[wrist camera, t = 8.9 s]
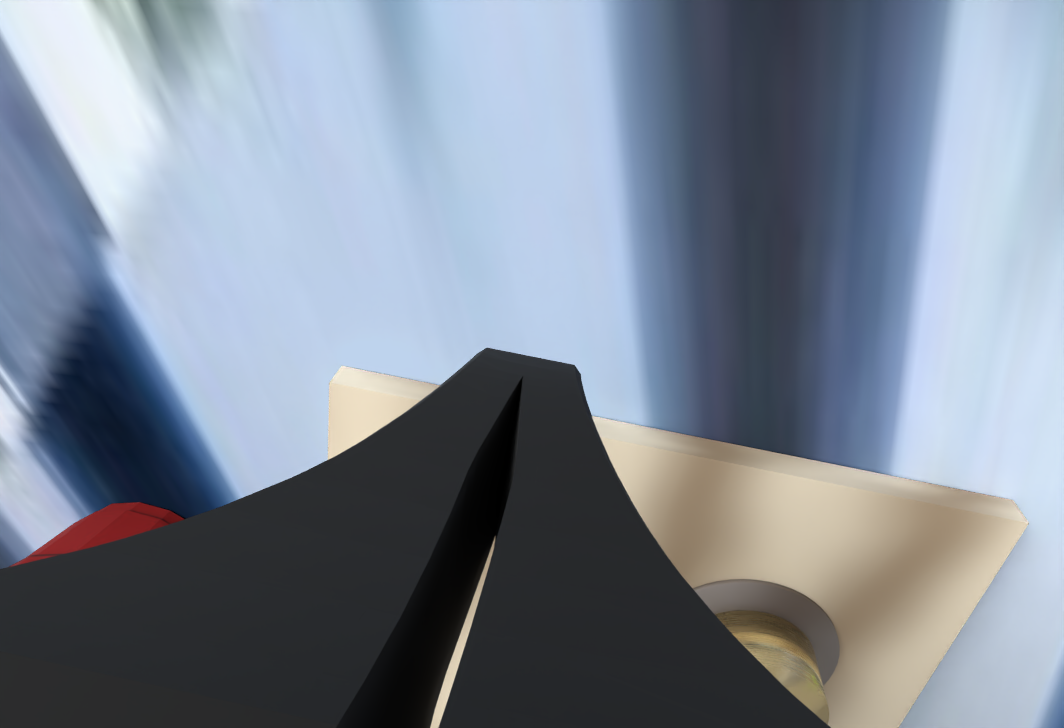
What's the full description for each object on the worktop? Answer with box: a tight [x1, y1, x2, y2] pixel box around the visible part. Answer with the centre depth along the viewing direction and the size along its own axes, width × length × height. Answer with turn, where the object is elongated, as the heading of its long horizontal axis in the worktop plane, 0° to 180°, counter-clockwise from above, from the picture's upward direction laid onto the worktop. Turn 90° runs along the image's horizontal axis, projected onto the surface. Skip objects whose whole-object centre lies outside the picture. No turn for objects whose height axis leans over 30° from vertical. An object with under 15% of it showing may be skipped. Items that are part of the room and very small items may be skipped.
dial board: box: [328, 366, 1029, 728], centre depth 26 cm, size 20×21×1 cm
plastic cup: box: [9, 502, 184, 567], centre depth 22 cm, size 11×11×12 cm
